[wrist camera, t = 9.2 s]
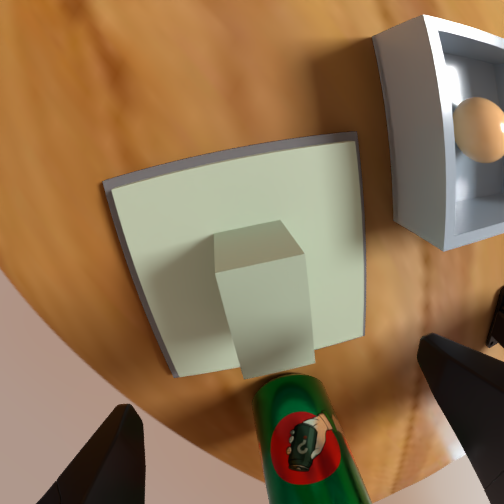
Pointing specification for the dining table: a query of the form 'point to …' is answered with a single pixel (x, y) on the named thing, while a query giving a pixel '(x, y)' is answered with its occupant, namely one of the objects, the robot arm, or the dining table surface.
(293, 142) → the mat
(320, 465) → the soda can
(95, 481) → the robot arm
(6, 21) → the dining table surface
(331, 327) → the lid
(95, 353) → the dining table surface
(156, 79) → the dining table surface
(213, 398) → the dining table surface
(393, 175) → the grey open box
